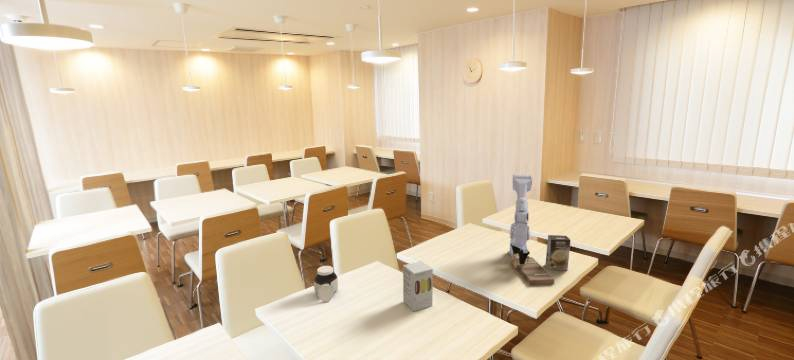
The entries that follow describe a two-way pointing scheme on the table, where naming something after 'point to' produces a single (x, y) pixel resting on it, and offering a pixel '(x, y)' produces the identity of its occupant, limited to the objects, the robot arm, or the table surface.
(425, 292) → the supplement box
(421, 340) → the table surface
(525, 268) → the walnut board
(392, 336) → the table surface
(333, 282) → the spread jar
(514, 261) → the beige block
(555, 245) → the coffee box
